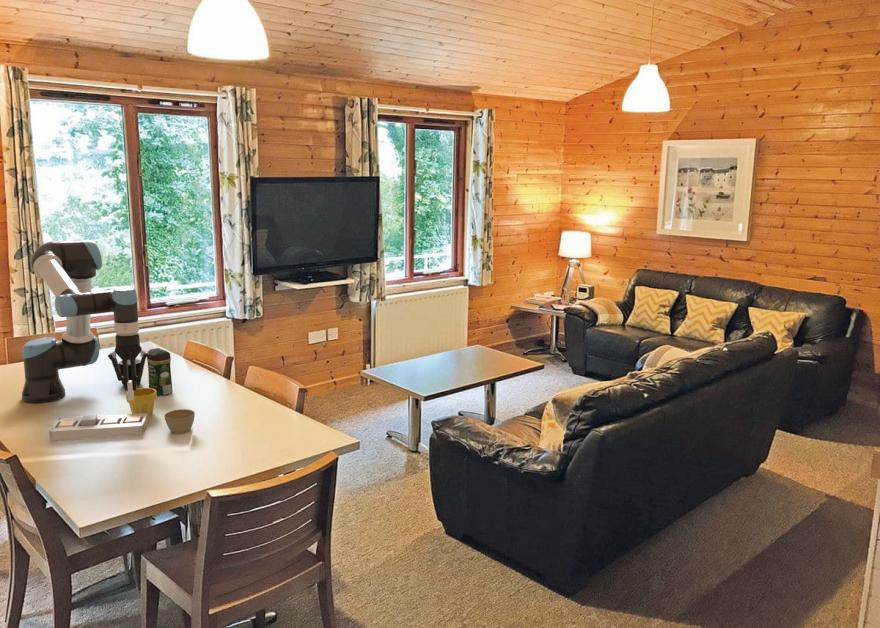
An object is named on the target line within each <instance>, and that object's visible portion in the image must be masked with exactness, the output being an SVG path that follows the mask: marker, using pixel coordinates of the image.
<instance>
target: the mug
mask: <svg viewBox="0 0 880 628" xmlns="http://www.w3.org/2000/svg"><path fill="white" fill-rule="evenodd" d="M140 362H141V359H138V358H136V376H138V372H139V367H140ZM118 364H119V367H120V370H121V373H122V376H123V363H122V360H119V362H118ZM128 378H129V379H128V381H129V380H132V376H131V363H130V360H128ZM141 382H142V378H141V379H140V380H137V387H138V386H140V384H141ZM121 384H122V386H124V382H123V381H121Z"/></svg>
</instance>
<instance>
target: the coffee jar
mask: <svg viewBox="0 0 880 628" xmlns="http://www.w3.org/2000/svg"><path fill="white" fill-rule="evenodd" d="M147 352H149V354H148V356H147V357H146V361H147V368H148V369H147V371H148V388H153V389H155V390H156V391H157V397H165V396H168V395H171V394H173V391H174V390H173V382H172V380H173V379H172V371H171V360H172V359H171V358H172V357H171V353H170V352H169V351H167V350H165V349H162V348H159V347H157V348H151V349H149V350H148V351H147Z"/></svg>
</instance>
